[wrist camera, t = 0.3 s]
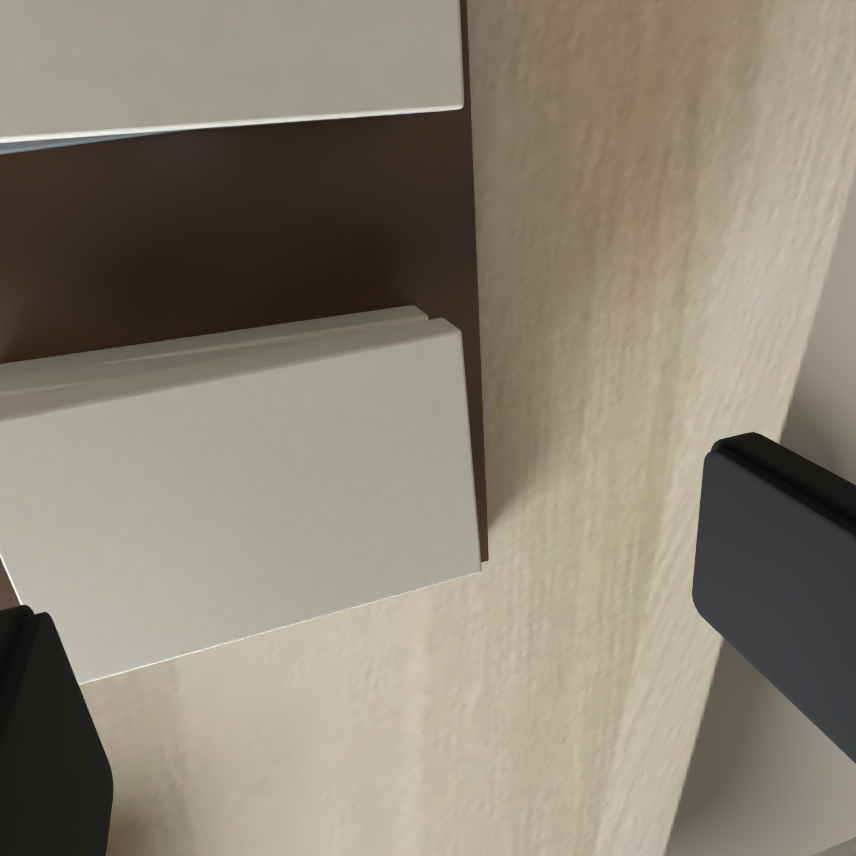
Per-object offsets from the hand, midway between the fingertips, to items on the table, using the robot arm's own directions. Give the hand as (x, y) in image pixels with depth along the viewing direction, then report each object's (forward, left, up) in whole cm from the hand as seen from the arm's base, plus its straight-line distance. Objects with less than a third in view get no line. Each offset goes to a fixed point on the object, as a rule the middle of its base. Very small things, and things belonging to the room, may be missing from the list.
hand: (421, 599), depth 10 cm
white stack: (+2, -2, -11) cm, 12 cm away
